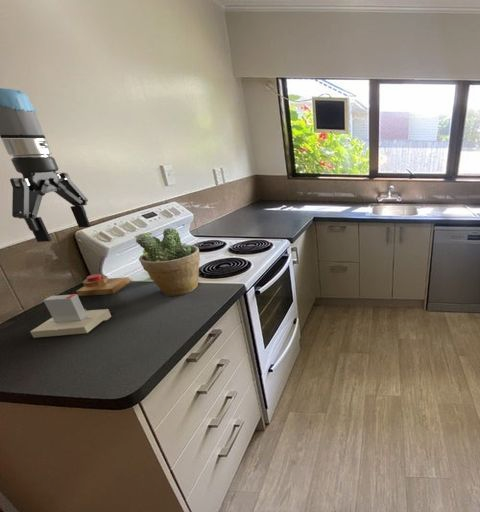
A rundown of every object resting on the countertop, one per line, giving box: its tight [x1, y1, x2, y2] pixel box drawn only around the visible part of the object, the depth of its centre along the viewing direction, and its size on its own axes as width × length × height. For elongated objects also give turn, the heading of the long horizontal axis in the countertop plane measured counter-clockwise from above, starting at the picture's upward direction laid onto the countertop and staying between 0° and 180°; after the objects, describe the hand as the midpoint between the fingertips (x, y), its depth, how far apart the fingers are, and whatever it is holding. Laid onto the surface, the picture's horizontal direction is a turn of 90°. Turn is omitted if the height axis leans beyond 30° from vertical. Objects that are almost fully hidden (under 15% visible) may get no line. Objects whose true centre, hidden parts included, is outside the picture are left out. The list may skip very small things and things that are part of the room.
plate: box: [29, 308, 112, 339], centre depth 90 cm, size 14×11×3 cm
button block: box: [75, 274, 131, 297], centre depth 113 cm, size 12×10×4 cm
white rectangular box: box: [43, 293, 87, 323], centre depth 88 cm, size 7×2×8 cm, turn 99°
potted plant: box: [135, 227, 201, 297], centre depth 109 cm, size 18×19×25 cm
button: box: [86, 273, 102, 282], centre depth 113 cm, size 4×4×2 cm
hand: (66, 233), depth 83 cm, fingers open, 13 cm apart
